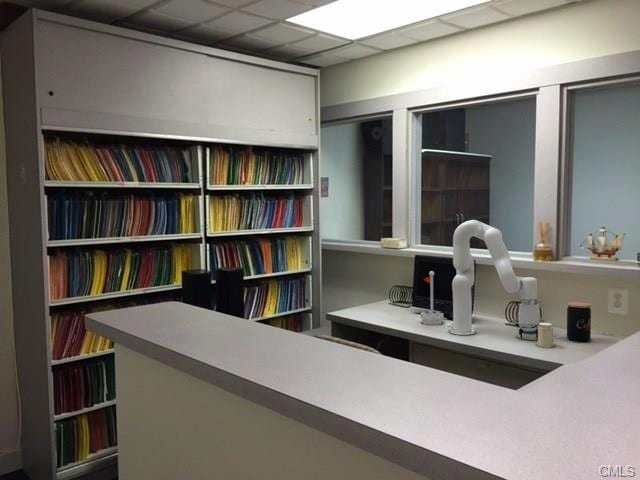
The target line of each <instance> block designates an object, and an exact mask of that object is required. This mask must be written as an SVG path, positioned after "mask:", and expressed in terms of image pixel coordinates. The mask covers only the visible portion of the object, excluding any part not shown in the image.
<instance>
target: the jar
mask: <svg viewBox="0 0 640 480" xmlns="http://www.w3.org/2000/svg"><path fill="white" fill-rule="evenodd" d="M538 325H539V326H538V340H537V346H538V347H540V348H553V347H554V327H553V324H552V323H551V322H546V323H542V322H540V323H539V324H538Z"/></svg>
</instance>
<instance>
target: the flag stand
mask: <svg viewBox="0 0 640 480" xmlns="http://www.w3.org/2000/svg"><path fill="white" fill-rule="evenodd" d="M428 275H429V276H427V277H425V278H423V281H424V282H426V283H428V284H429V285H430V291H429V292H430V310H429V311H428V312H426V311H422V312H420V319H421V321H422V322H421V323H422V324H424V325H428V326H429V325H431V326H437V325H441V324H443V319H444V318H445V317H444V315H445V314H444V313H443V312H441V311H436V312H435V313H434V276H435V271H433V270H431V271H429V273H428Z"/></svg>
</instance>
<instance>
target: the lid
mask: <svg viewBox="0 0 640 480" xmlns="http://www.w3.org/2000/svg"><path fill="white" fill-rule="evenodd" d="M536 329H537V328H534V327H522V334H527V335H536Z"/></svg>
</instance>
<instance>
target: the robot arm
mask: <svg viewBox="0 0 640 480" xmlns="http://www.w3.org/2000/svg"><path fill="white" fill-rule="evenodd" d="M472 237H475V238H477V239H479V240H482V241H484V244H485V246H486V248H487V250H488V252H489V254H490V257H491V259H492V261H493V264H494V267H495V269H496V273H497V275H498V278H499V280H500V282H501V284H502V286H503V288H504V290H505V291H506V293H509V294H515V293H518V292H519V291H520V302H521V303H519V306H518V316H516V317H514V319H512V320H511V321H512V323H513V324H514V325H515V326H516V327H517V329H518V335H521V337H522V334H523V333H522V329H523V326H524V325H528V326H529V325H531V326H532V325H533V326H535V327H536V328H535V329H536V334H535V335H536V338H538V326H539V323H547V321H546V320H545V319H544V318H542V317H541V313H540V311H541V310H540V305H539V304H540V303H541V299H538V279H537V278H536V277H532V276H525V277H523V276H517V275H516V273H515V271H514V269H513V266H512V261H511V260H512V259H511V255H510V252H509V250H508V249H507V246H506V243H505V242H504V240H503V233H502V231H501V230H500V229H499V228H496V227H494V226H491V225H488V224H486V223H484V222H482V221H479V220H476V219H471V220H467V221H464V222H463V223H462V222H461V224H459V225H458V226H457V227H456V228H455V230H454V233H453V236H452V264H453V267H454V269H455V270H456V273H455V274H456V275H455V276H454V277H453V279H452V283H451V289H452V307H453V308H452V323H451V322H447V323H446V328H450V331H449V332H450V333H451V334H453V335H459V336H471V335H474V334H475V333H476V331H475V329H474V328H473V326H472V325H473V308H472V307H473V303H472V302H473V301H472V299H473V298H472V287H473V285H474V284H475V261H474V256H473V255H472V254H471V244H470V239H471V238H472ZM517 321H518V322H517Z"/></svg>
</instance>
